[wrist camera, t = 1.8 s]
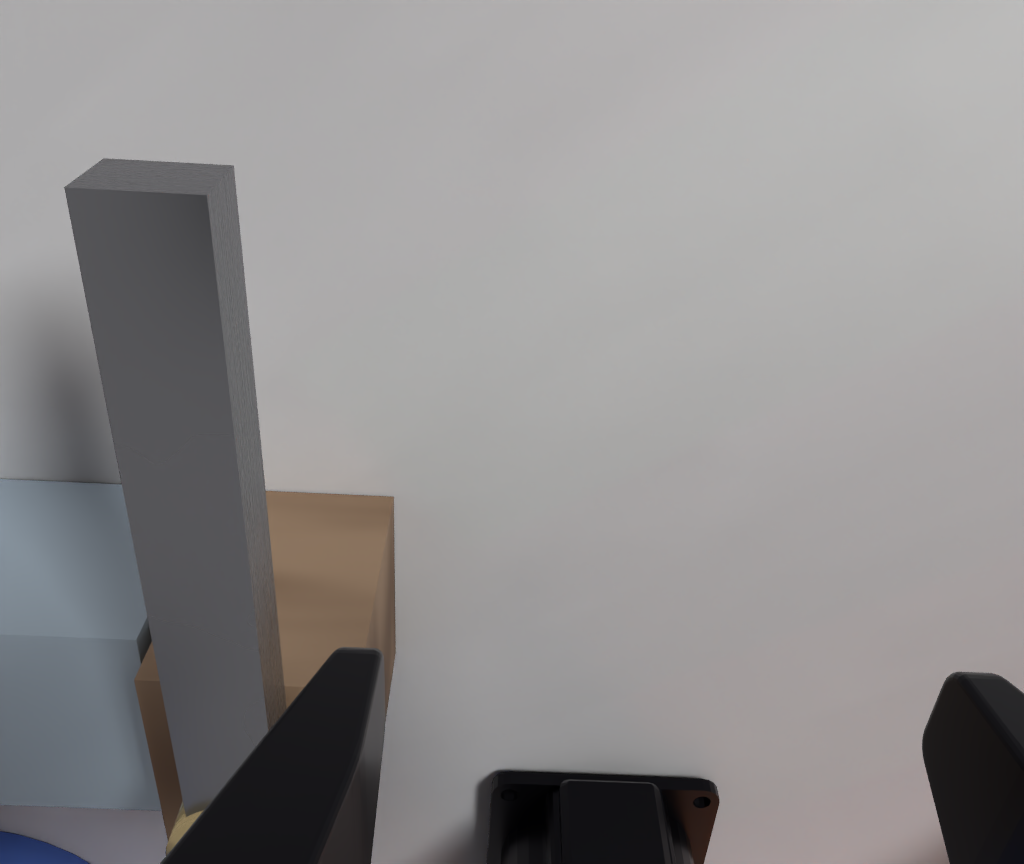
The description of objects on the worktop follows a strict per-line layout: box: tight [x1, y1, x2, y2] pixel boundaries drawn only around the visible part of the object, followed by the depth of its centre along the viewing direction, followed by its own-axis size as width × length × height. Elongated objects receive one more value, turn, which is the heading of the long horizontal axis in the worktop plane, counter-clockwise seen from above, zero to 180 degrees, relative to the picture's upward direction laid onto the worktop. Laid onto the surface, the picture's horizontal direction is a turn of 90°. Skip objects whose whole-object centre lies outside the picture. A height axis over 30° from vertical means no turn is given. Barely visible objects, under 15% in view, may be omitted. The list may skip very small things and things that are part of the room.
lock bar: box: [64, 159, 287, 856], centre depth 15 cm, size 13×2×2 cm, turn 177°
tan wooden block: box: [134, 491, 396, 841], centre depth 21 cm, size 5×4×6 cm
